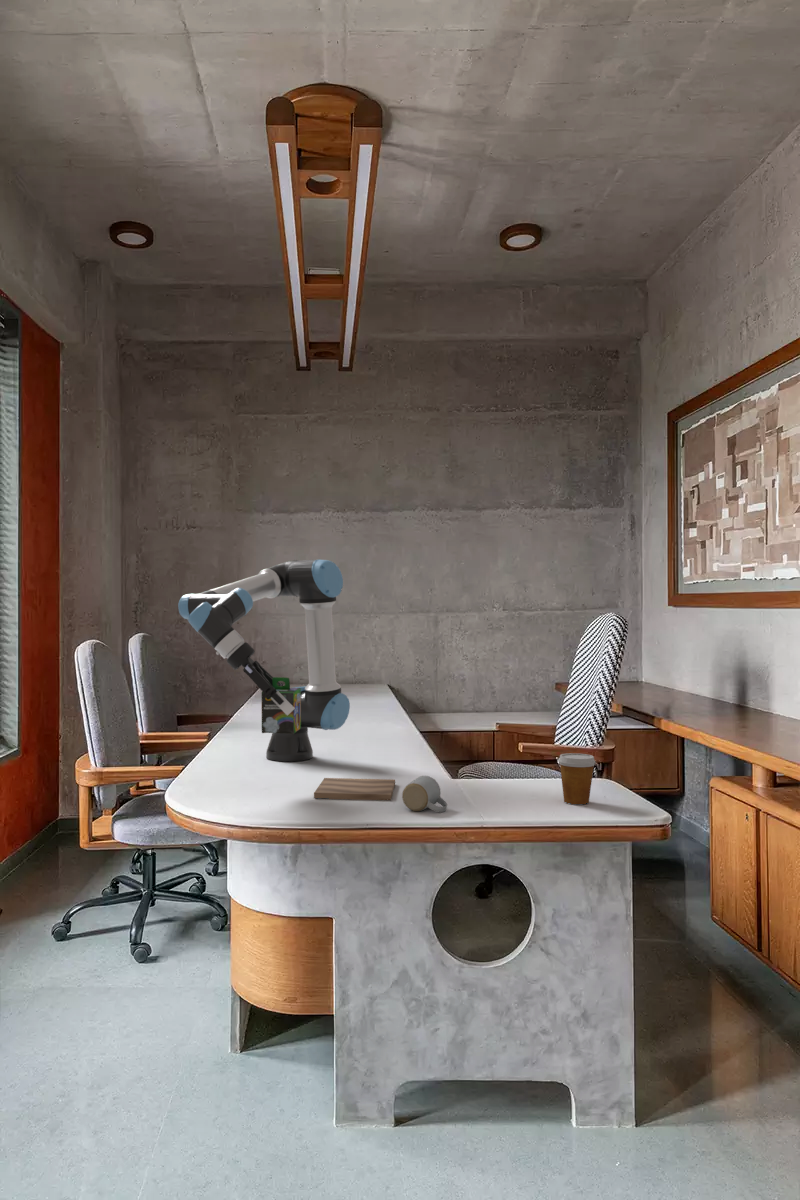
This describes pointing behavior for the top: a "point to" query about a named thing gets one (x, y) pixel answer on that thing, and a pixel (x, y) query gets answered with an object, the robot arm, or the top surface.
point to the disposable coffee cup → (576, 777)
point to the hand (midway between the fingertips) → (292, 709)
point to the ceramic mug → (423, 795)
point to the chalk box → (274, 716)
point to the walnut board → (355, 789)
